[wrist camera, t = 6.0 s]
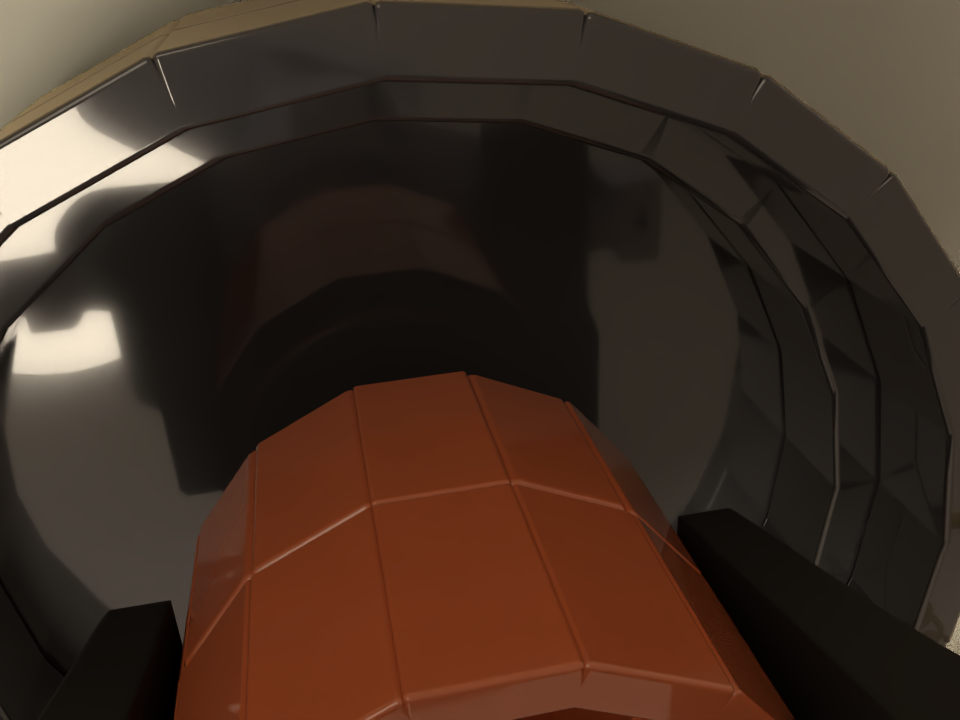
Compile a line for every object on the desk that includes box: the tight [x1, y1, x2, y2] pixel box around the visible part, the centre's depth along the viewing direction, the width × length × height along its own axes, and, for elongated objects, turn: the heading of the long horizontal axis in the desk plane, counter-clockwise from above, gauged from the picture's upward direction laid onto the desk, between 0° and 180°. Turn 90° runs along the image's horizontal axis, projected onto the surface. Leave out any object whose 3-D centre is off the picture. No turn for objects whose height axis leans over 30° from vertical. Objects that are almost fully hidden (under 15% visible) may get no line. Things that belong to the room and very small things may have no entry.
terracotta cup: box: [173, 371, 795, 720], centre depth 9 cm, size 5×5×5 cm
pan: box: [0, 0, 960, 720], centre depth 11 cm, size 13×13×3 cm
